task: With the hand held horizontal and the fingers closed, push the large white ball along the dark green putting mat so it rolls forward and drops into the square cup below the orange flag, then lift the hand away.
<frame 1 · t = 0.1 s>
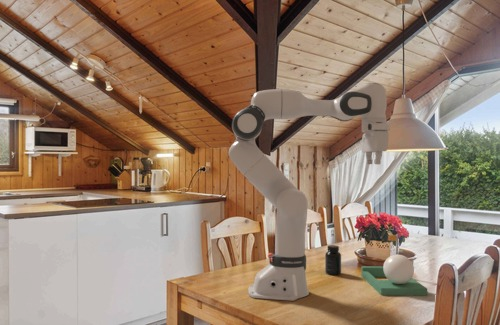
hand: (373, 164, 152), 48 cm above the table, tool pointing down, fingers open, 8 cm apart
supplement bottle: (333, 273, 178), on the table
ball: (398, 269, 156), point 8 cm above the table, touching putting mat
putting mat: (392, 285, 162), on the table
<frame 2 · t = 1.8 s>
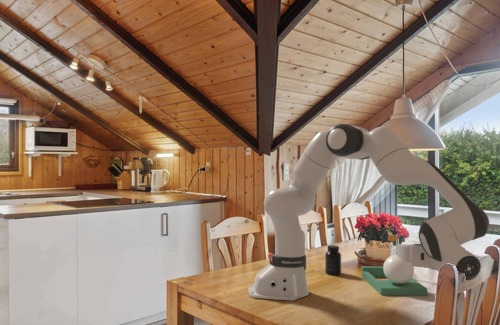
hand: (420, 246, 137), 20 cm above the table, tool horizontal, fingers open, 7 cm apart
nothing on the table moved.
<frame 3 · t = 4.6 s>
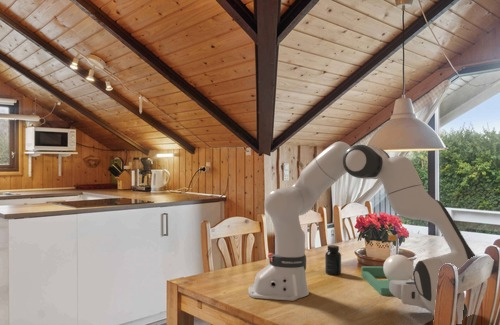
hand: (412, 281, 142), 7 cm above the table, tool horizontal, fingers closed
nothing on the table moved.
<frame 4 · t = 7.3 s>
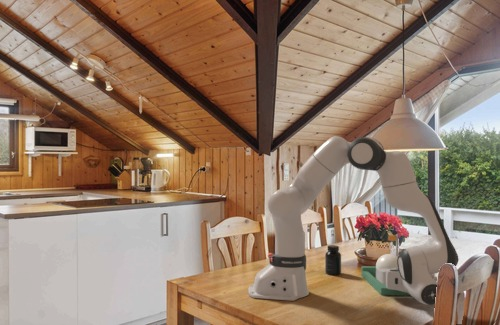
hand: (397, 269, 157), 7 cm above the table, tool horizontal, fingers closed
ball: (389, 267, 168), point 5 cm above the table, tilted 143°
everything else where it was.
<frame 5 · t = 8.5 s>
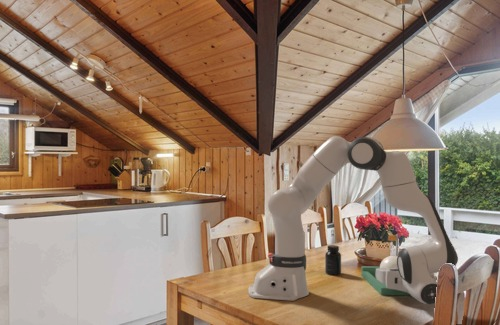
hand: (396, 269, 157), 8 cm above the table, tool horizontal, fingers closed
ball: (394, 269, 165), point 5 cm above the table, tilted 111°
everything else where it was.
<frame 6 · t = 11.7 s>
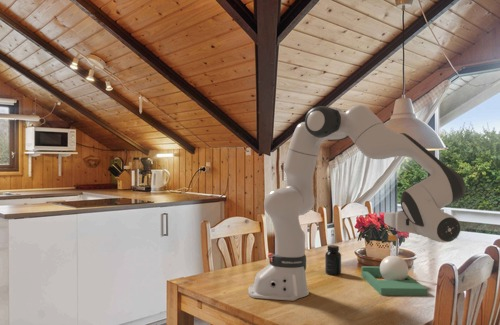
hand: (407, 216, 143), 30 cm above the table, tool horizontal, fingers closed
at the end: ball inside the target area (2.6 cm from its centre), point 5.5 cm above the table; ball touching table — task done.
